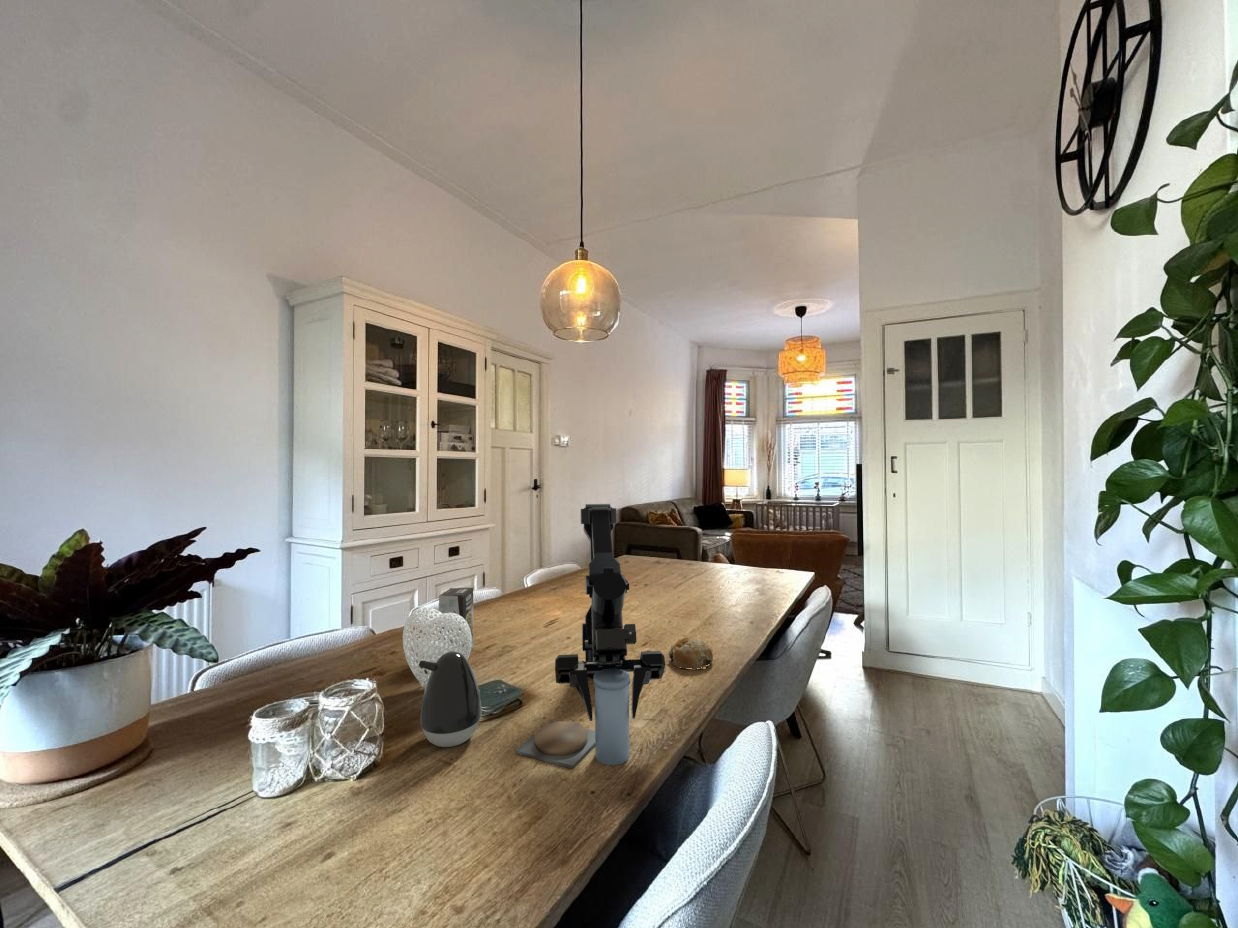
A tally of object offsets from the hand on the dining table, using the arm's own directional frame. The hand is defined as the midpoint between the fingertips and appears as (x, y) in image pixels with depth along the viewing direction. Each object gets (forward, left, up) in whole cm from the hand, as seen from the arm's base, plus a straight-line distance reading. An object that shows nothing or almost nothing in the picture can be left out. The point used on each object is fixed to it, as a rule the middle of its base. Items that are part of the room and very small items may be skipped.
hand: (612, 719), depth 83 cm
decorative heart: (-46, +8, -7) cm, 47 cm away
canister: (-1, +1, -7) cm, 7 cm away
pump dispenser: (-29, -6, -7) cm, 30 cm away
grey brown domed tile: (-10, +1, -7) cm, 12 cm away
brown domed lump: (-1, +45, -7) cm, 46 cm away
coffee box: (-58, +27, -7) cm, 64 cm away
